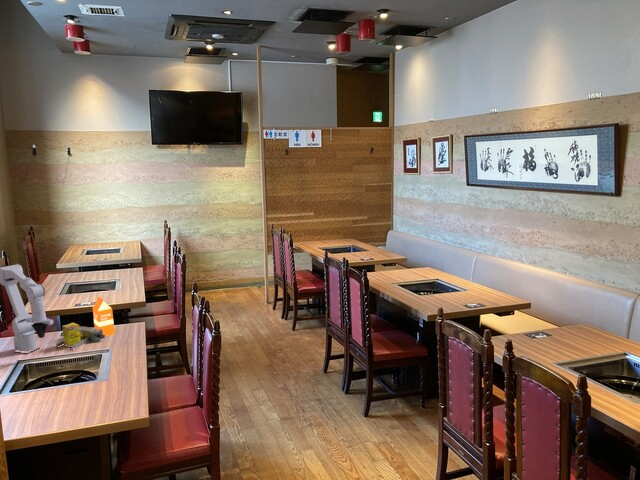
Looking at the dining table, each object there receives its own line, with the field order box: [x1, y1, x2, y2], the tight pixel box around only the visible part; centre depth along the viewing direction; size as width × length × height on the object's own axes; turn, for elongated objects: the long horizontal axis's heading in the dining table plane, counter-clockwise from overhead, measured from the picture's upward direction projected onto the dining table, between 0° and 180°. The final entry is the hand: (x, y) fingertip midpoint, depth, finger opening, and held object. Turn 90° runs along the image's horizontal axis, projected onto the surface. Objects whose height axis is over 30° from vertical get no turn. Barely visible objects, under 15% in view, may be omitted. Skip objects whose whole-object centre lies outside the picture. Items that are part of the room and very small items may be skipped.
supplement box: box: [61, 322, 81, 347], centre depth 255 cm, size 6×6×11 cm
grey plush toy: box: [55, 325, 106, 349], centre depth 258 cm, size 21×17×6 cm
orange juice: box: [92, 296, 115, 337], centre depth 269 cm, size 8×9×20 cm
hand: (41, 337), depth 239 cm, fingers closed
